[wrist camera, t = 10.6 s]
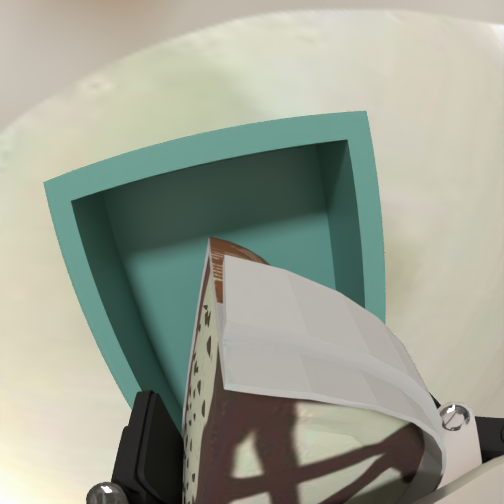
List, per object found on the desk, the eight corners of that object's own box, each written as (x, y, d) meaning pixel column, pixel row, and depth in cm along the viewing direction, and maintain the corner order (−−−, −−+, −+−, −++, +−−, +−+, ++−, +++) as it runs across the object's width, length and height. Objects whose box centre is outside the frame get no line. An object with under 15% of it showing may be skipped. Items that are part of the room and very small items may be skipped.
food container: (286, 432, 16) (333, 577, 6) (181, 425, 15) (179, 589, 5) (356, 228, 13) (555, 334, 3) (215, 199, 12) (237, 329, 2)
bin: (323, 124, 14) (366, 110, 10) (350, 399, 19) (374, 442, 15) (88, 176, 13) (43, 182, 9) (186, 437, 18) (184, 487, 14)
